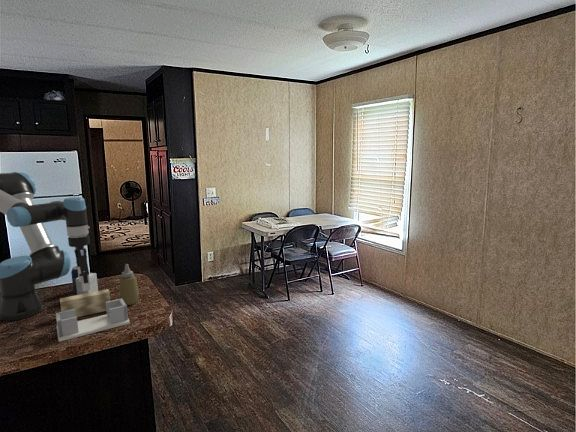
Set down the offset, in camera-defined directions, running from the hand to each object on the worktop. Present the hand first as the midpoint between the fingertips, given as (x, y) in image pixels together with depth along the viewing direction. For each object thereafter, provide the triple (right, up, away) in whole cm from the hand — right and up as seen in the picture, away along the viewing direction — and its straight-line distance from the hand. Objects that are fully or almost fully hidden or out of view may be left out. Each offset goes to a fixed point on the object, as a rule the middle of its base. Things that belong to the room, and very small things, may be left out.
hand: (84, 285), depth 151 cm
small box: (-9, -9, +19) cm, 23 cm away
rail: (0, -12, +2) cm, 12 cm away
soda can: (-16, -8, +27) cm, 32 cm away
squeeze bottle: (+14, -10, +12) cm, 21 cm away
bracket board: (+9, -14, -9) cm, 19 cm away
